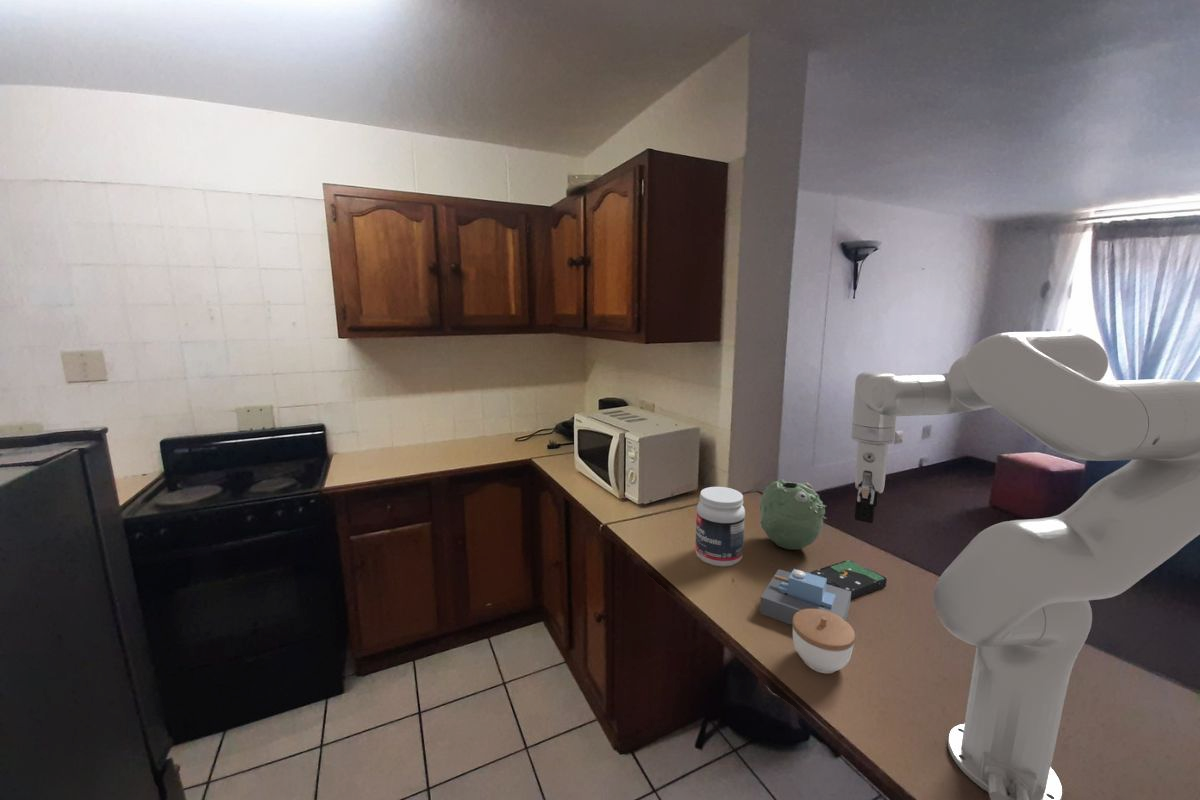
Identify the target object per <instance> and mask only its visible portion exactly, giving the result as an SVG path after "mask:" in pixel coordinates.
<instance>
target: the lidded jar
mask: <svg viewBox="0 0 1200 800" xmlns="http://www.w3.org/2000/svg"><path fill="white" fill-rule="evenodd" d="M792 624H793V625H792V642H793V646H794V648H795V650H796V653H797V654H798V655H799V656H798V657H800V658H801V659H802V661H803V662H804V664H805V665H806V666H808V667H809V669H811V670H813V671H815V672H817V673H820V674H826V675H827V674H834V673H835V672H836V671H840V670H842V669H843V668H844V667H845V666H847V664H848V663H849V662H850V659H851V656H852V654H853V651H854V650H853V649H854V646H855V645H854V644H855V641H856V633H855V630H854V628H853V627H852V626H851V624H850V623H849V622H848V621H847V620H846V621H845V620H844V619H842V618H841V617H839V616H837V615H835V614H833V613H831V612H828V611H824V610H820V609H803V610H800V611H798V612H797V613H795V614H794V616H793V620H792Z"/></svg>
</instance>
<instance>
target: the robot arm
mask: <svg viewBox="0 0 1200 800" xmlns="http://www.w3.org/2000/svg"><path fill="white" fill-rule="evenodd" d="M1108 367H1109V358H1108V355H1107V352H1106V351H1105V349H1104V348H1103V346H1101V344H1100V343H1098V342H1097V341H1096V340H1094V339H1092V338H1090V337H1088V336H1085V335H1083V334H1080V333H1076V332H1070V331H1013V332H1011V331H1010V332H1002V333H1001V332H1000V333H997V334H993V335H990V336H987V337H986V338H982V339H981V340H980V341H978V342H977V343H976V344H974V346H972V348H971V349H970V350H969V351H968V352H967V354H964V355H962V356H961V357H959V358H957V359H956V360H955V361H954V362H953V363H952V365H951V366H950V368H949V371H948V372H946V373H941V374H940V373H939V374H908V375H906V374H905V375H897V374H894V373H892V372H884V371H883V372H882V371H864V372H861V373H859V374H857V376H856V377H855V383H854V399H853V409H852V410H853V411H852V423H851V432H850V433H851V435H850V438H851V440H852V441H855V442H856V456H855V472H854V473H855V474H854V475H855V478H854V479H855V488H856V490H858V491H857V497H856V499H857V500H856V501H855V511H854V520H855V521H857V522H859V521H860V522H863V523H869V524H872V523H873V522H874V518H875V517H874V516H875V508H876V507H877V506H878V504H877V503H878V494H883V493H884V489H885V485H886V484H885V483H886V482H885V481H886V476H887V475H886V474H887V464H888V463H887V462H888V450H889V449H888V445H891V444H894V443H895V434H896V425H897V424H896V421H897V417H911V416H912V417H914V416H917V417H919V416H943V415H951V414H953V415H954V414H959V413H966V412H974V411H979V410H981V411H982V410H985V409H990V408H993V409H994V410H996V411H997V412H998V413H1000V414H1001V415H1003V416H1004V417H1006V418H1007V419H1009V420H1010V421H1011V422H1013V423H1014V424H1016V426H1018V427H1020V429H1022V430H1024V431H1025V432H1026V433H1027V434H1029V435H1031V436H1032V437H1033V438H1035V439H1036V440H1038V441H1039V442H1040V443H1042V444H1043V445H1045V446H1046V447H1048V448H1049V449H1052V450H1054V451H1055V452H1057V453H1060V454H1062V455H1065V456H1067V457H1071V458H1072V459H1073V458H1074V459H1079V460H1083V461H1091V462H1092V461H1093V462H1095V461H1096V462H1102V461H1103V462H1107V461H1108V462H1109V461H1110V462H1111V461H1112V462H1113V461H1129V460H1130V461H1129V462H1127V463H1126V464H1125V465H1123V466H1122V467H1120V468H1117V470H1114V471H1113V472H1111V473H1109V474H1108V475H1106V476H1105V477H1103V478H1101V479H1100V480H1098V481H1097V482H1096V483H1095V482H1094V484H1093V485H1092V486H1090V487H1089V488H1088V489H1087V490H1086V492H1085V493H1084V494H1083V495H1082V496H1081V497H1080V498H1079V499H1078V500H1077V501H1076V502H1074V503H1073V504H1072V505H1071V506H1070V507H1068V508H1066V510H1065V511H1062V512H1060V514H1057V515H1052V516H1049V517H1048V516H1047V517H1043V518H1042V517H1041V518H1033V519H1032V518H1031V519H1028V518H1027V519H1014V520H1009V521H1008V520H1006V521H1001V522H999V523H996V524H993V525H991V526H988V527H987V528H985V529H983V530H982V531H980V532H979V533H978V534H977V535H976V536H975V537H974V538H972V540H971V541H970V542H969V543H968V544H967V545H966V546H965V547H964V549H963V550H962V551H961V552H960V553H959V554H958V556H957V557H956V558H955V559H954V560H953V561H952V562H951V564H950V565H949V566H948V567H947V568H946V569H945V570H944V571H943V572H942V574H941V575H940V577H939V578H938V579H937V582H936V585H935V588H934V593H933V595H934V596H933V602H934V608H935V611H936V612H935V613H936V615H937V617H938V619H939V620H940V623H941V624H942V625H943V626H944V628H945V629H946V630H947V631H948V632H949V633H950V634H951V635H952V636H954V637H955V638H957V639H959V640H961V641H962V642H965V643H967V644H969V645H973V646H976V649H975V655H974V661H973V666H972V672H971V673H972V674H971V680H970V686H969V692H968V698H967V705H966V712H965V718H964V723H963V724H958V725H956V726H954V727H953V728H952V729H951V730H950V732H949V734H948V738H947V746H948V750H949V753H950V756H951V758H952V759H953V761H954V762H955V763H956V766H958V767H959V768H960V770H961V771H962V772H963V773H964V774H965V775H966V776H967V777H968V779H970V780H971V781H972V782H974V783H975V784H976V785H977V786H979V788H981V789H982V790H984V791H986V792H987V793H988V795H989V799H990V800H1063V798H1062V797H1063V786H1062V784H1061V781H1060V779H1059V777H1058V776H1057V774H1056V772H1055V771H1054V769H1052V763H1053V758H1054V754H1055V753H1054V752H1055V749H1056V744H1057V739H1058V733H1059V727H1060V725H1061V724H1060V723H1061V719H1062V713H1063V710H1064V709H1063V708H1064V703H1065V699H1066V696H1067V692H1068V691H1067V690H1068V687H1069V681H1070V678H1071V674H1072V670H1073V667H1074V664H1075V661H1076V660H1077V658H1078V656H1079V653H1080V652H1081V650H1082V648H1083V647H1084V645H1085V642H1086V640H1087V638H1088V635H1089V633H1090V631H1091V629H1092V622H1093V612H1092V611H1093V610H1092V607H1091V604H1090V601H1095V600H1105V599H1110V598H1113V597H1116V596H1118V595H1121V594H1122V593H1124V592H1126V591H1127V590H1129V589H1131V587H1133V586H1134V585H1135V584H1136V583H1138V582H1140V580H1141V579H1143V578H1145V576H1147V575H1148V574H1150V573H1151V572H1152V571H1154V570H1156V568H1159V566H1160V565H1162V564H1164V562H1166V561H1167V560H1169V559H1170V558H1171V557H1173V556H1174V555H1176V554H1177V553H1178V552H1179V551H1180V550H1181V549H1183V548H1184V547H1185V546H1186V545H1188V544H1189V543H1190V542H1191V541H1193V540H1194V539H1195V538H1196V537H1198V536H1200V381H1193V380H1185V379H1183V380H1182V379H1171V378H1170V379H1168V378H1167V379H1166V378H1165V379H1162V378H1160V379H1159V378H1157V379H1155V378H1151V379H1132V380H1131V379H1127V380H1125V379H1121V380H1119V379H1118V380H1102V379H1103V378H1104V377H1105V375H1106V373H1107V371H1108Z"/></svg>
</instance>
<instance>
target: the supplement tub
mask: <svg viewBox="0 0 1200 800" xmlns="http://www.w3.org/2000/svg"><path fill="white" fill-rule="evenodd" d="M697 503H698V504H697V506H696V518H695V519H696V521H695V525H696V526H695V542H694V543H695V548H694V551H695V553H696V556H697V557H698V558H699V559H700V560H701V561H702V562H704V563H707V564H709V565H712V566H717V567H731V566H734V565H736V564H738V563H740V561H741V560H742V559H743V556H744V555H743V552H744V537H745V536H744V534H745V518H746V509H745V507H744V506H743V505H744V495H743V493H742V492H740V491H738V489H737V490H736V489H733V488H730V487H725V486H710V487H709V486H708V487H705V488H703V489H701V491H700V493H699V502H697Z"/></svg>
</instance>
